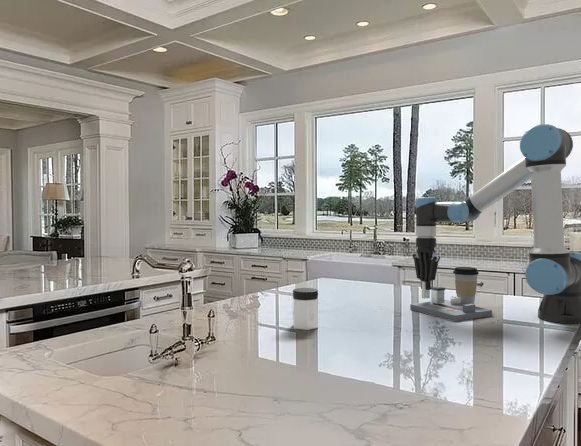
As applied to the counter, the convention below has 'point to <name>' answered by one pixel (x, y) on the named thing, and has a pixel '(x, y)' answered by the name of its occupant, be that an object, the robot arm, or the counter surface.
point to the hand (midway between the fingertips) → (425, 297)
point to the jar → (305, 308)
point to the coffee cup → (466, 283)
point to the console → (452, 310)
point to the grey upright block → (437, 295)
